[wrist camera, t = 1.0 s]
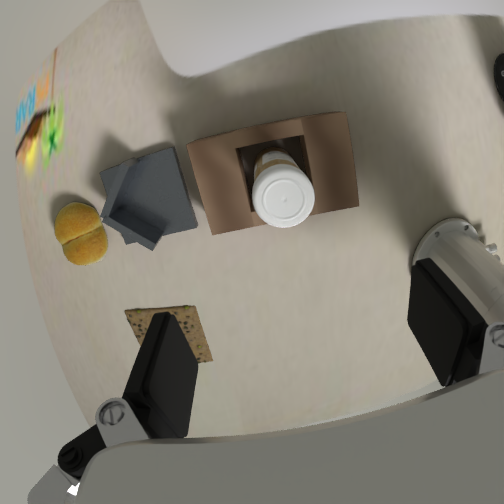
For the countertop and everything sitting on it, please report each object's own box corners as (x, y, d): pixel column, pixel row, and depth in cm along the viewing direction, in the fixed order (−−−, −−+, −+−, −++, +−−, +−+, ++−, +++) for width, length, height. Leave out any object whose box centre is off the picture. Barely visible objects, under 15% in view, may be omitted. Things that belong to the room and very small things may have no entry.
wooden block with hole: (334, 111, 30) (345, 112, 26) (347, 194, 34) (359, 206, 30) (195, 140, 32) (186, 144, 28) (217, 220, 36) (212, 235, 32)
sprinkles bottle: (247, 173, 34) (240, 212, 22) (266, 139, 32) (271, 156, 20) (282, 191, 34) (295, 239, 22) (301, 158, 33) (327, 188, 21)
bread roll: (93, 192, 35) (77, 201, 31) (118, 251, 39) (106, 265, 35) (52, 210, 36) (36, 220, 32) (76, 263, 40) (64, 277, 36)
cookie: (215, 359, 48) (214, 364, 47) (149, 361, 49) (148, 365, 48) (196, 302, 42) (195, 307, 41) (124, 308, 43) (122, 312, 42)
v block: (173, 143, 32) (162, 149, 28) (198, 226, 37) (191, 242, 33) (102, 168, 33) (84, 177, 29) (129, 243, 38) (116, 259, 34)
